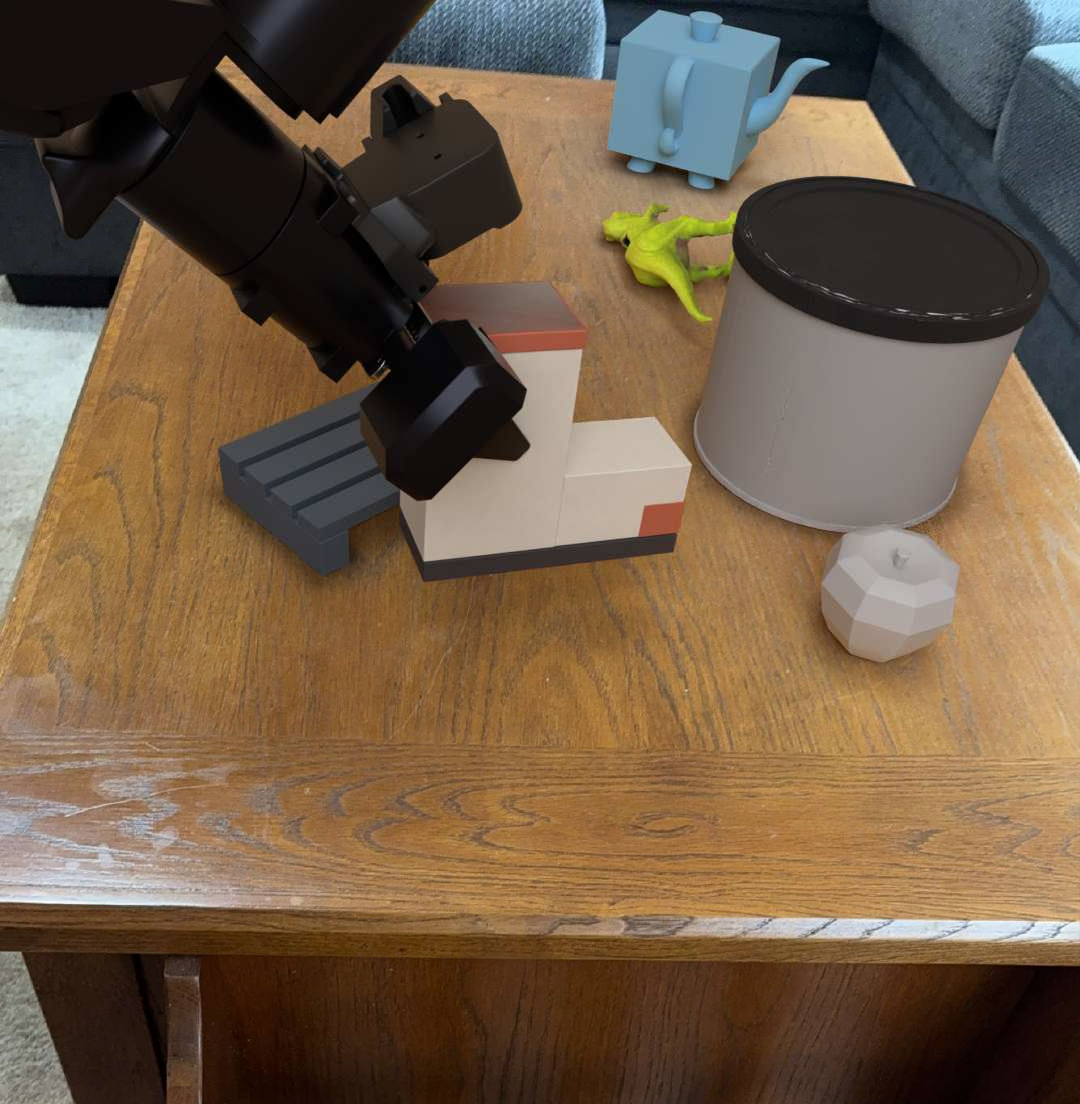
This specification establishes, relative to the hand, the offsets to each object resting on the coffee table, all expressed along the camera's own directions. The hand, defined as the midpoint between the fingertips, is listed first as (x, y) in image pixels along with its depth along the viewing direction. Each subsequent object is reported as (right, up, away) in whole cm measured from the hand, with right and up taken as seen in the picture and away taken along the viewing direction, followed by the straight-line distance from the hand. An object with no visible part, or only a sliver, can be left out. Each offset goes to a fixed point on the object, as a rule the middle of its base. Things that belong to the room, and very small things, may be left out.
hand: (501, 420), depth 54 cm
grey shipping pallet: (-9, 0, +17) cm, 19 cm away
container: (+22, +4, +24) cm, 33 cm away
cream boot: (+2, -5, +6) cm, 8 cm away
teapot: (+18, +39, +55) cm, 70 cm away
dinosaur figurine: (+12, +22, +38) cm, 46 cm away
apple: (+21, -10, +11) cm, 26 cm away
